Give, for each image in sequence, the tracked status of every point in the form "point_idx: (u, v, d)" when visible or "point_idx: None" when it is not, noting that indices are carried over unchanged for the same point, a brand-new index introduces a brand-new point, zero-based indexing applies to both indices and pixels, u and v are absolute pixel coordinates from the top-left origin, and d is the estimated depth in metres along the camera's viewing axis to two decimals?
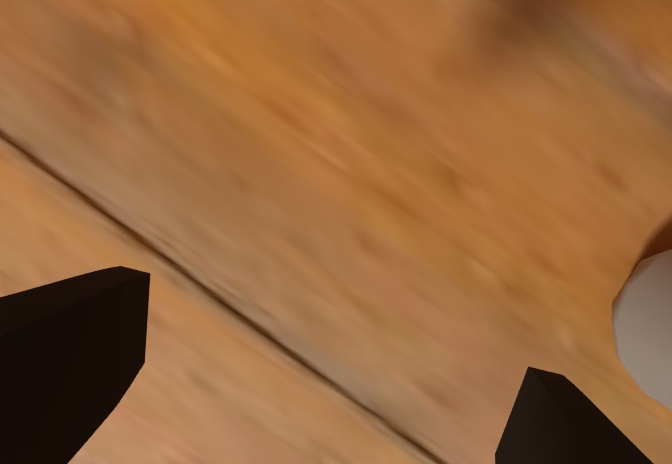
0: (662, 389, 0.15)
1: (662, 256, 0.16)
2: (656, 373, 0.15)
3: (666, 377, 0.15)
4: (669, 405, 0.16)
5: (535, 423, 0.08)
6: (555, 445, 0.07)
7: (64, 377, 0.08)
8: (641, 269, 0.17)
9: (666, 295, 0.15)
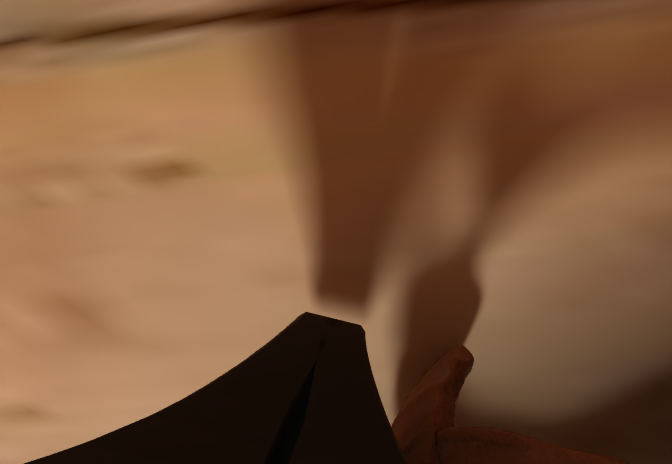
0: None
1: None
2: None
3: None
4: None
5: None
6: (311, 382, 0.08)
7: (296, 438, 0.08)
8: None
9: None
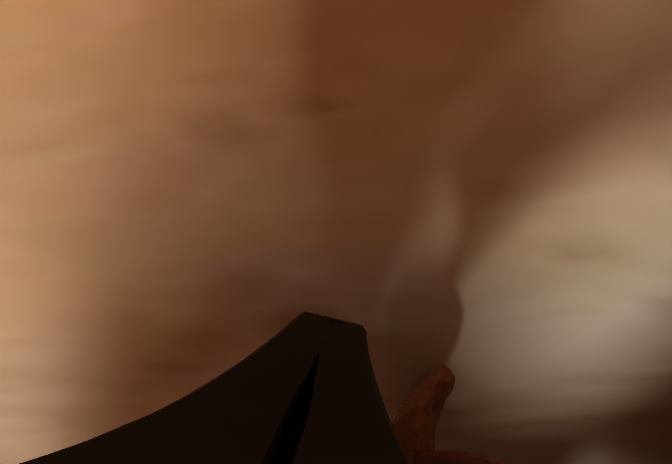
0: None
1: None
2: None
3: None
4: None
5: None
6: (313, 383, 0.08)
7: (295, 438, 0.08)
8: None
9: None
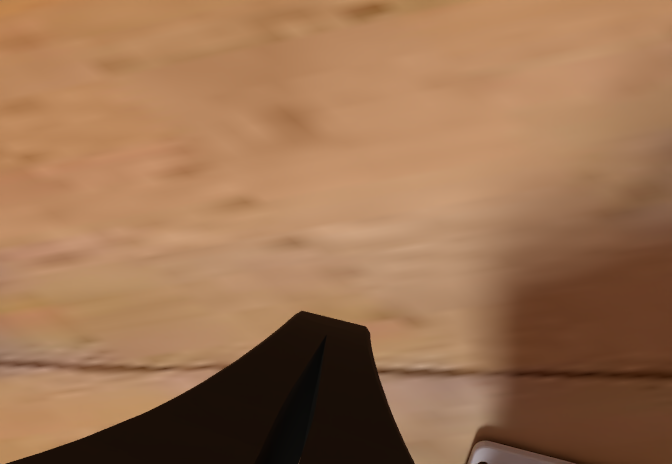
0: None
1: None
2: None
3: None
4: None
5: (320, 368, 0.09)
6: (317, 384, 0.08)
7: (290, 437, 0.08)
8: None
9: None
